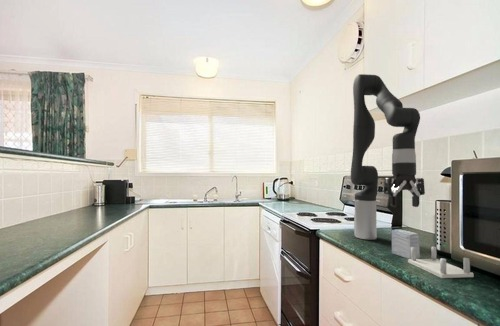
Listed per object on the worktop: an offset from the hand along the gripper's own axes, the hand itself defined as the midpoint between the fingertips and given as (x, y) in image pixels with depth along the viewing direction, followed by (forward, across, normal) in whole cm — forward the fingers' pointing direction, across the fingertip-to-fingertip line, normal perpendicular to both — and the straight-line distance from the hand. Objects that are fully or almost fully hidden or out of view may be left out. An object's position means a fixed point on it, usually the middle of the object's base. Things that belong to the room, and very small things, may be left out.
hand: (404, 206), depth 93 cm
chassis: (+18, -1, +13) cm, 22 cm away
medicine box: (+18, 0, 0) cm, 18 cm away
